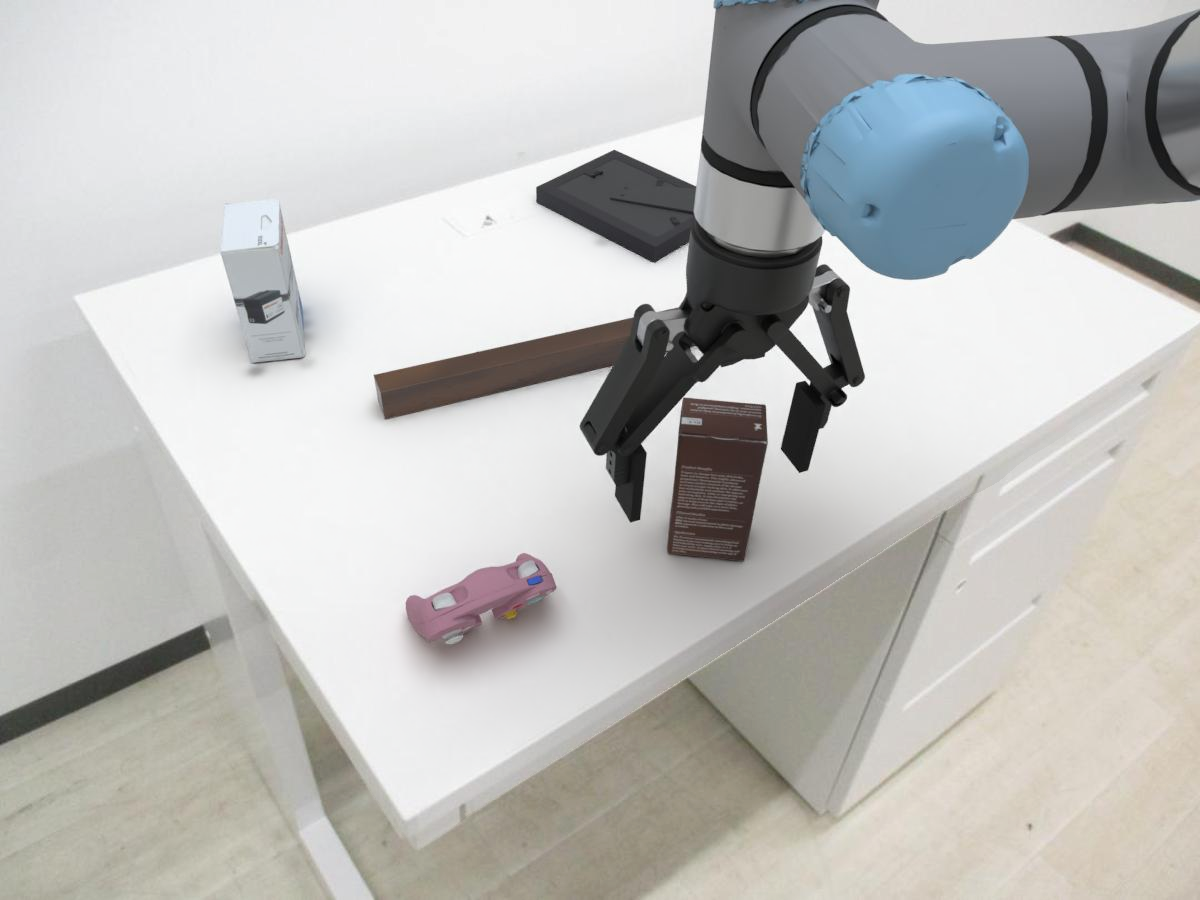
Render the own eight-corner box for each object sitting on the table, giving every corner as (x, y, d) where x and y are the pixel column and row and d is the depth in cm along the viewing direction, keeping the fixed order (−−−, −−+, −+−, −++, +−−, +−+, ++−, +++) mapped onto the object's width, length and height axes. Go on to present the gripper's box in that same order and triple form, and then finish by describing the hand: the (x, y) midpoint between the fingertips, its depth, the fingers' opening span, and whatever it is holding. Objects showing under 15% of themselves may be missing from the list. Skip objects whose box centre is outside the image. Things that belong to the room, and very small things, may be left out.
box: (744, 519, 74) (769, 402, 65) (744, 564, 70) (769, 446, 62) (667, 511, 74) (681, 393, 66) (663, 555, 71) (678, 436, 62)
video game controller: (422, 665, 65) (430, 646, 59) (398, 604, 66) (404, 579, 60) (551, 612, 68) (572, 589, 62) (527, 555, 70) (545, 527, 63)
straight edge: (726, 338, 91) (730, 312, 89) (384, 419, 81) (380, 392, 79) (714, 324, 92) (717, 298, 90) (378, 401, 82) (373, 374, 80)
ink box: (251, 311, 91) (222, 200, 83) (304, 305, 92) (280, 195, 84) (248, 365, 85) (217, 251, 77) (305, 358, 86) (279, 246, 78)
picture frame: (730, 217, 107) (613, 164, 116) (732, 199, 106) (614, 146, 114) (654, 263, 100) (535, 202, 108) (655, 244, 98) (535, 184, 107)
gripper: (900, 159, 60) (831, 410, 75) (527, 229, 52) (532, 492, 67) (977, 218, 55) (886, 474, 70) (578, 303, 47) (571, 570, 62)
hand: (713, 483), depth 68 cm, fingers open, 13 cm apart
